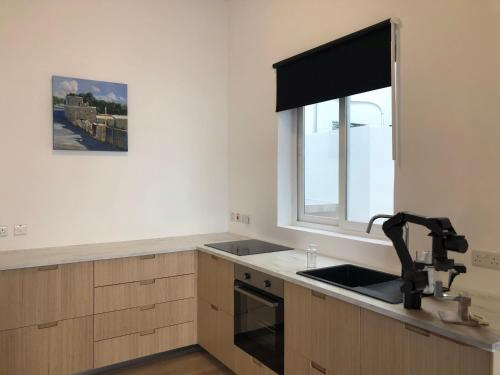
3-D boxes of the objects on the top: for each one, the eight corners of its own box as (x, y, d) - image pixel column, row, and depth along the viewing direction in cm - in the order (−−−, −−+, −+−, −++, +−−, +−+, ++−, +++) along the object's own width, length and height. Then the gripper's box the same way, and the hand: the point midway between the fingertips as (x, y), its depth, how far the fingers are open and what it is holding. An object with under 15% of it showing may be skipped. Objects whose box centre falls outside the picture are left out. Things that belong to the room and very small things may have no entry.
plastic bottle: (434, 296, 190) (435, 253, 190) (418, 294, 193) (419, 252, 192) (433, 292, 196) (434, 251, 196) (418, 290, 199) (419, 249, 198)
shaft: (435, 300, 162) (435, 281, 161) (434, 297, 164) (434, 279, 164) (463, 302, 158) (464, 283, 158) (462, 300, 161) (462, 281, 161)
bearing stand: (442, 322, 157) (443, 296, 156) (438, 312, 168) (438, 288, 168) (480, 326, 153) (481, 300, 153) (473, 316, 164) (474, 291, 164)
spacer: (471, 316, 156) (488, 322, 155) (468, 311, 162) (484, 317, 160) (470, 318, 157) (487, 324, 155) (467, 313, 162) (483, 319, 161)
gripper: (415, 250, 157) (414, 291, 158) (470, 254, 151) (468, 296, 152) (413, 246, 168) (412, 283, 168) (464, 249, 162) (463, 288, 163)
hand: (438, 288), depth 162 cm, fingers open, 7 cm apart
